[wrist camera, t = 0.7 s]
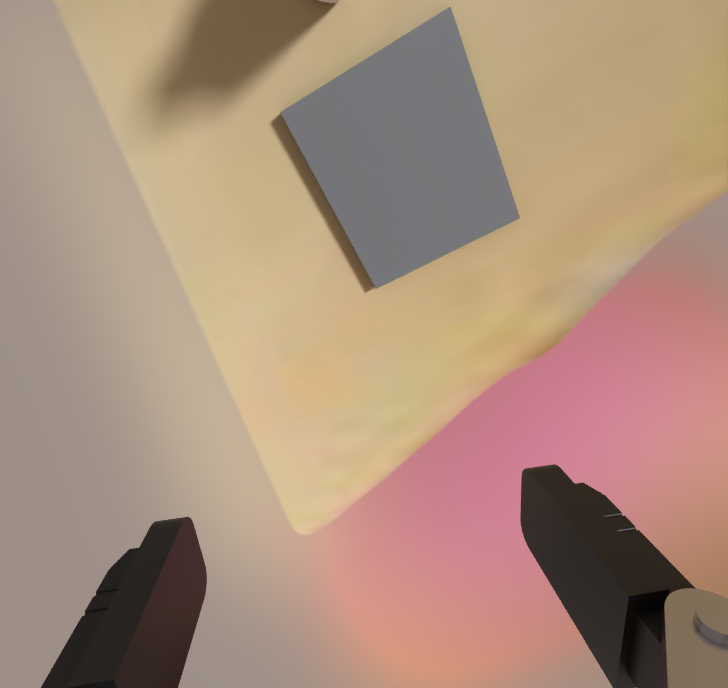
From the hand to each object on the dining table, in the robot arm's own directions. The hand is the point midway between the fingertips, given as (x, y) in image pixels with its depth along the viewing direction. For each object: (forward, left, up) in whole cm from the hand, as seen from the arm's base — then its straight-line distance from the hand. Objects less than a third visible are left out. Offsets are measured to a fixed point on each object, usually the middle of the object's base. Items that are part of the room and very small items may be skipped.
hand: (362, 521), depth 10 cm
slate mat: (-3, +6, -26) cm, 26 cm away
